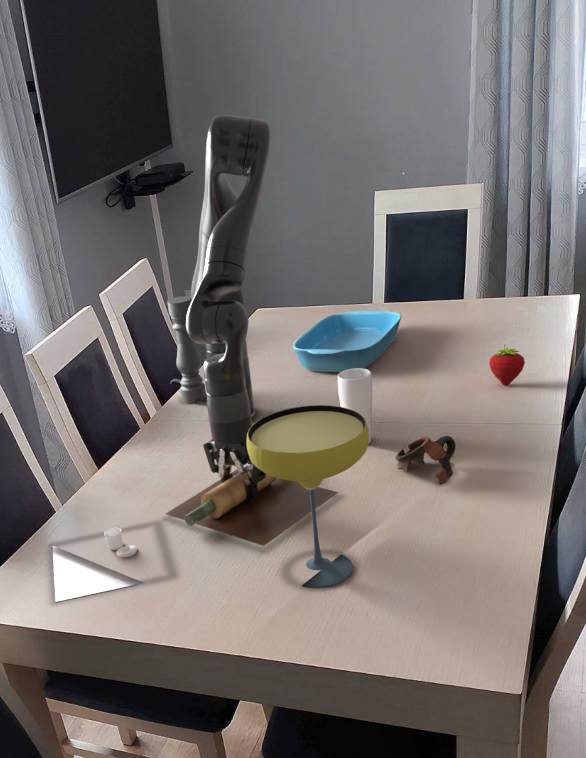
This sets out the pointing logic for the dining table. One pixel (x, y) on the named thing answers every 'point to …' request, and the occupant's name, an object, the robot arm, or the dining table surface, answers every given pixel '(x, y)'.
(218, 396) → the robot arm
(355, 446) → the cocktail glass
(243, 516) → the pastry board
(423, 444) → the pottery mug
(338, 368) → the casserole dish
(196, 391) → the candle holder
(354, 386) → the drinking glass
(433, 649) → the dining table surface
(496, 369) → the strawberry
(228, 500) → the rolling pin
